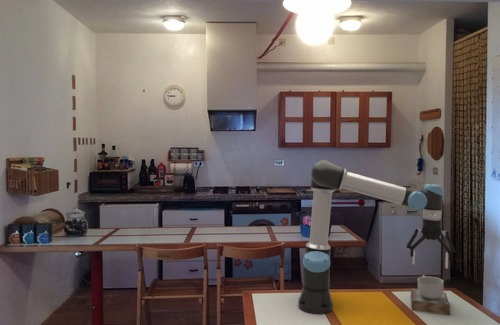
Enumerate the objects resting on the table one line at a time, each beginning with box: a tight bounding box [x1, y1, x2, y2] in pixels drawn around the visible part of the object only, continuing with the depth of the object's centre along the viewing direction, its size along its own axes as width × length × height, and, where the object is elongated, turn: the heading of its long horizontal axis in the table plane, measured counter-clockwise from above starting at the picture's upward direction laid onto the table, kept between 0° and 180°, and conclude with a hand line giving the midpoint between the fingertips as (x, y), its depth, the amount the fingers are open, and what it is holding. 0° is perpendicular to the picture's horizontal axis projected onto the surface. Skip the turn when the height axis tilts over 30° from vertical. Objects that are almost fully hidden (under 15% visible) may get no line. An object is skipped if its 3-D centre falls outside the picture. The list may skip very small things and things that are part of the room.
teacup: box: [417, 275, 445, 300], centre depth 185 cm, size 14×11×8 cm
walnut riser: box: [410, 288, 451, 316], centre depth 185 cm, size 15×17×4 cm
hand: (429, 265), depth 185 cm, fingers open, 13 cm apart
